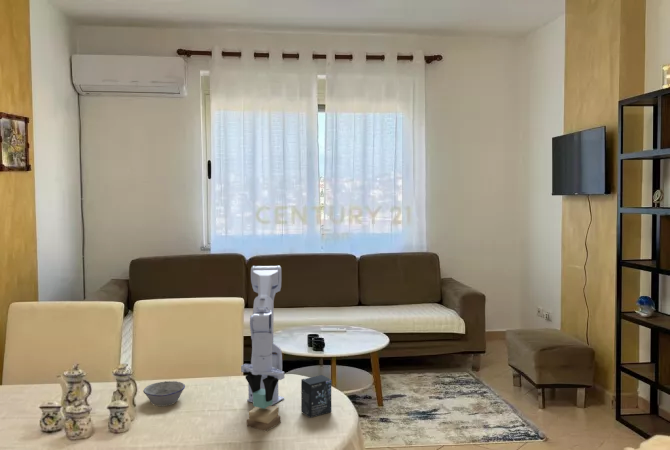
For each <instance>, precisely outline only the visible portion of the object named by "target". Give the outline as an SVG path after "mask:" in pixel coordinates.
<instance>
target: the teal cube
mask: <svg viewBox="0 0 670 450" xmlns="http://www.w3.org/2000/svg"><path fill="white" fill-rule="evenodd" d="M272 404H273V401H272V400H271V401H269V402H267V401H266V396H265V389H260V390H258V391H256V392H254V393H253V402H252V405H253V407H254V408H255V407H259V408H263V409H265V408H266V407H268V406H270V405H272ZM273 405H274V404H273ZM273 405H272V406H273Z"/></svg>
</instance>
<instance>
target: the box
mask: <svg viewBox="0 0 670 450" xmlns="http://www.w3.org/2000/svg"><path fill="white" fill-rule="evenodd" d="M300 384H301V387H300V388H301V391H300V393H301V395H300V396H301V403H300V404H301V407H300V408H301V410H300V412H301V413H302V414H304V415H305V416H307V417H308V418H314V417H317V416H320V415H321V416H322V415H326V414H329V413H332V379H330V378H329V377H328V376H327V377H326V376H325V375H324V374H320V375H316V376H312V377H307V378H301V383H300Z"/></svg>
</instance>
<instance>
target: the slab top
mask: <svg viewBox="0 0 670 450" xmlns="http://www.w3.org/2000/svg"><path fill="white" fill-rule="evenodd" d="M278 415H279V406H277V405H276V406H275V405H272V406H268V407H266V408H265V409H263V408H259V407H255V406H254V407H253V408H252V409H251V410H249V411H248V419H249V420H251V421H256V422H262V423H270V422H271V421H272V420H273V419H274V418H275V417H277V416H278ZM279 416H280V415H279Z"/></svg>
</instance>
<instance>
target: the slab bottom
mask: <svg viewBox="0 0 670 450" xmlns="http://www.w3.org/2000/svg"><path fill="white" fill-rule="evenodd" d="M279 424H281V415H278V416H277V417H275V418H274V419H273V420H272V421H271V422H270V423H262V422H256V421H251V420H249V418H248V419H246V427H250V428H251V429H256V430H260V431H264V432H268V431H269V430H271V429H272V428H274V427H276V426H277V425H279Z"/></svg>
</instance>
